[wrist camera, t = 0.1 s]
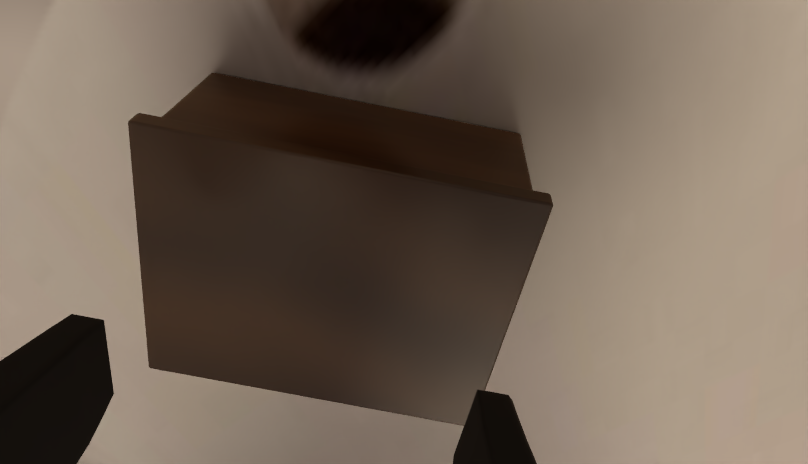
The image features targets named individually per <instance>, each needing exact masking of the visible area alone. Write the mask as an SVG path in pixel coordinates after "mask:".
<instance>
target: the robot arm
mask: <svg viewBox="0 0 808 464" xmlns="http://www.w3.org/2000/svg"><path fill="white" fill-rule="evenodd" d="M113 394H114V392H113V384H112V377H111V370H110V362H109V355H108V348H107V340H106V333H105V326H104V320H101V319H95V318H90V317H84V316H79V315H74V314H71V315H70V316H68V317H66V318H65V319H63V320H62V321H60V322H59V323H57V324H56V325H54V326H52V327H51V328H49V329H48V330H46V331H45V332H43V333H42V334H40V335H39V336H37V337H36V338H34V339H33V340H31V341H30V342H28V343H27V344H25V345H24V346H22V347H21V348H19V349H18V350H16V351H15V352H13V353H12V354H10V355H9V356H7V357H6V358H4V359H3V360H1V361H0V464H77V462H78V461H79V459H80V457H81V456H82V454H83V453H84V451H85V449H86V448H87V446H88V445H89V443H90V441H91V439H92V437H93V435H94V433H95V431H96V429H97V427H98V425H99V423H100V421H101V419H102V417H103V415H104V413H105V411H106V409H107V407H108V405H109V403H110V400H111V398H112V396H113ZM453 464H537V463H536V461H535V458H534V456H533V453H532V451H531V449H530V446H529V444H528V441H527V439H526V436H525V434H524V431H523V429H522V426H521V423H520V421H519V418H518V415H517V413H516V410H515V407H514V404H513V401H512V399H511V398H510V397H509V395H505V394H499V393H494V392H488V391H483V390H478V389H477V392H476V395H475V397H474V400H473V403H472V406H471V409H470V411H469V414H468V417H467V420H466V423H465V425H464V428H463V431H462V434H461V437H460V439H459V442H458V445H457V448H456V451H455V453H454V459H453Z"/></svg>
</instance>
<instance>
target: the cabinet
mask: <svg viewBox="0 0 808 464" xmlns="http://www.w3.org/2000/svg"><path fill="white" fill-rule="evenodd" d="M128 126H129V138H130V149H131V161H132V173H133V185H134V196H135V208H136V220H137V232H138V243H139V255H140V267H141V279H142V290H143V302H144V314H145V326H146V337H147V349H148V361H149V367H150V368H153V369H159V370H164V371H169V372H175V373H180V374H186V375H191V376H197V377H202V378H207V379H213V380H218V381H224V382H229V383H235V384H240V385H245V386H251V387H256V388H262V389H267V390H273V391H278V392H283V393H289V394H294V395H300V396H305V397H311V398H316V399H321V400H327V401H332V402H338V403H343V404H349V405H354V406H359V407H365V408H370V409H376V410H381V411H387V412H392V413H397V414H403V415H408V416H414V417H419V418H425V419H430V420H435V421H441V422H446V423H452V424H457V425H463V426H464V425H465V423H466V420H467V417H468V414H469V411H470V409H471V406H472V403H473V400H474V397H475V395H476V392H477V389H478V390H483V391H485V389H486V386H487V383H488V381H489V378H490V375H491V372H492V370H493V367H494V364H495V362H496V359H497V356H498V354H499V351H500V348H501V345H502V343H503V340H504V337H505V335H506V332H507V329H508V326H509V324H510V321H511V318H512V316H513V313H514V310H515V308H516V305H517V302H518V299H519V297H520V294H521V291H522V289H523V286H524V283H525V280H526V278H527V275H528V272H529V270H530V267H531V264H532V261H533V259H534V256H535V253H536V251H537V248H538V245H539V243H540V240H541V237H542V234H543V232H544V229H545V226H546V224H547V221H548V218H549V215H550V213H551V210H552V207H553V202H552V199H551V195H550V194H548V193H543V192H538V191H533V190H532V185H531V181H530V176H529V171H528V167H527V162H526V158H525V153H524V148H523V144H522V139H521V135H520V134H519V133H514V132H509V131H504V130H499V129H494V128H489V127H484V126H479V125H474V124H469V123H464V122H459V121H454V120H449V119H444V118H439V117H434V116H429V115H424V114H419V113H414V112H409V111H404V110H399V109H394V108H389V107H384V106H379V105H374V104H369V103H364V102H359V101H354V100H349V99H344V98H339V97H334V96H329V95H324V94H319V93H314V92H308V91H303V90H298V89H293V88H288V87H283V86H278V85H273V84H268V83H263V82H258V81H253V80H248V79H243V78H238V77H233V76H228V75H223V74H218V73H211V74H210V75H209V76H208V77H207V78H206V79H204V80H203V81H202V82H201V83H200V84H199V85H198V86H197V87H195V88H194V89H193V90H192V91H191V92H190V93H189V94H188V95H186V96H185V97H184V98H183V99H182V100H181V101H180V102H178V103H177V104H176V105H175V106H174V107H173V108H172V109H171V110H169V111H168V112H167V113H166V114H165V115H164V116H163V117H157V116H152V115H147V114H142V113H138V114H137V115H135V116H134V117H133V118H132V119H130V120H129V122H128Z"/></svg>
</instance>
